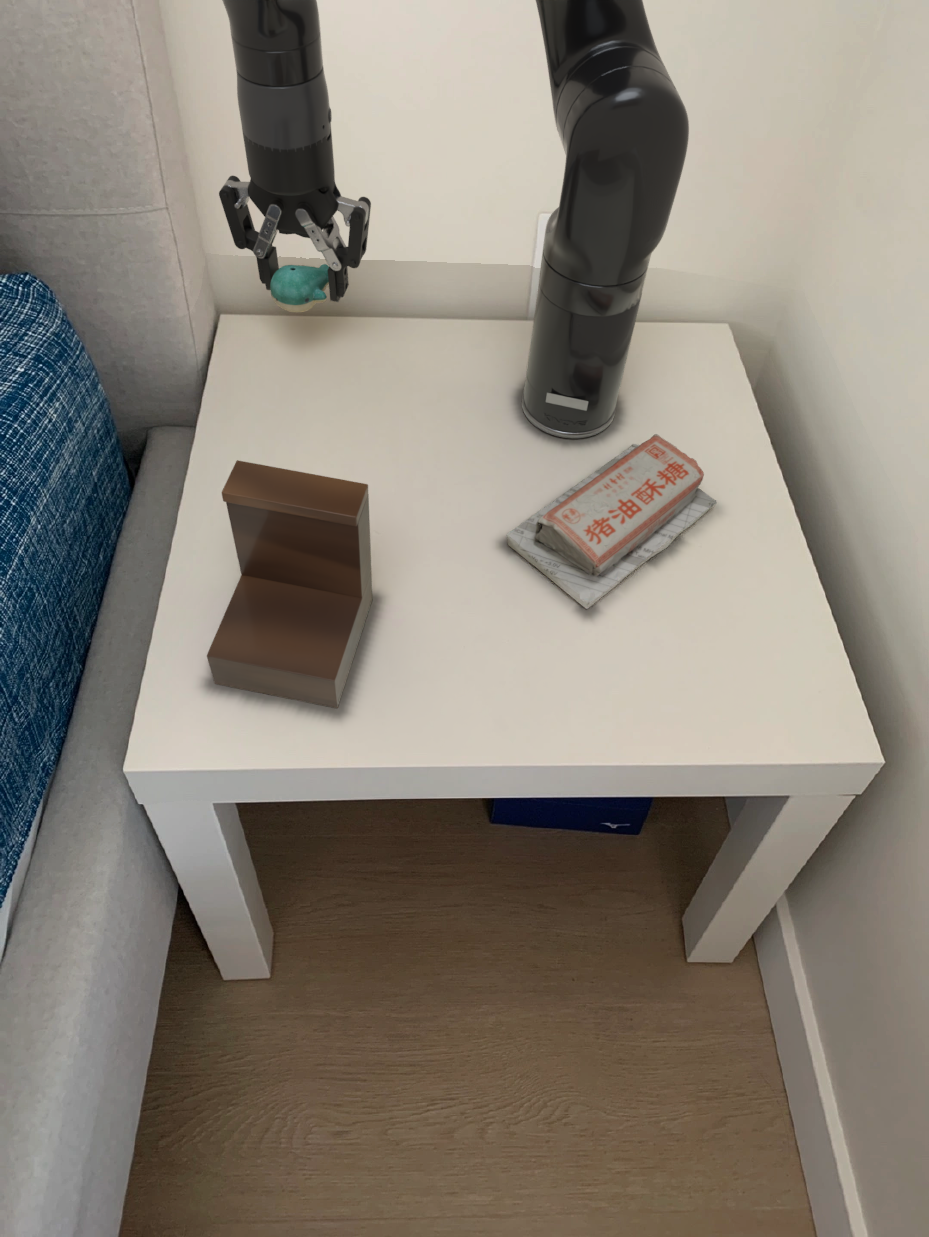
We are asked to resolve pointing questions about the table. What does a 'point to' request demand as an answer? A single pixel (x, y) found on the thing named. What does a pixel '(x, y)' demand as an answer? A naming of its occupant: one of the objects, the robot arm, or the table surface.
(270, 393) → the table surface
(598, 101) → the robot arm
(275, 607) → the shelf
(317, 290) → the whale figurine
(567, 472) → the table surface
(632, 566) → the packaged product
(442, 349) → the table surface
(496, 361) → the table surface
